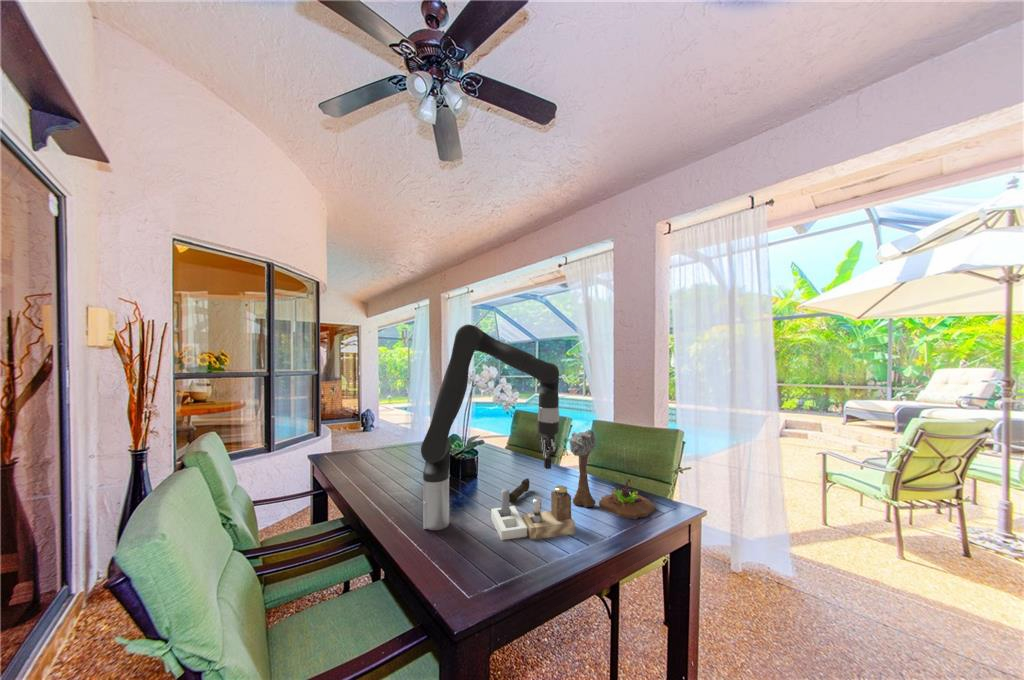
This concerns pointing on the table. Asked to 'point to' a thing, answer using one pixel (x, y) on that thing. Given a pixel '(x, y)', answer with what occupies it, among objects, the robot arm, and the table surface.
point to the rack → (508, 519)
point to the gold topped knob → (561, 490)
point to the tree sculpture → (583, 465)
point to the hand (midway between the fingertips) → (547, 468)
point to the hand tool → (519, 491)
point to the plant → (627, 503)
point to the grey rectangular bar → (537, 510)
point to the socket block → (552, 519)
